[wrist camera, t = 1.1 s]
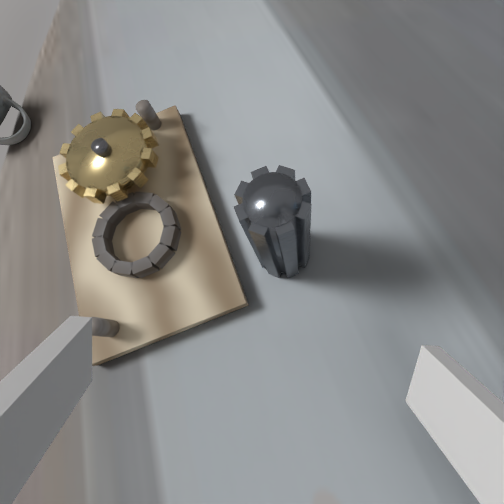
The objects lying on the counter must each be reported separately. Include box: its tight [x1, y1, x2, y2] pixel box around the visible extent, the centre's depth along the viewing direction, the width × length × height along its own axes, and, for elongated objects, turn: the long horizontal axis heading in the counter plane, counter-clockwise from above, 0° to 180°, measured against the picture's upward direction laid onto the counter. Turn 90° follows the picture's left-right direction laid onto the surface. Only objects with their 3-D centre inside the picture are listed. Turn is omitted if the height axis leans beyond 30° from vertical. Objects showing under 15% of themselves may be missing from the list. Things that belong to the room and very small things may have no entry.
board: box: [53, 100, 249, 366], centre depth 33 cm, size 16×25×4 cm, turn 21°
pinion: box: [234, 165, 311, 278], centre depth 26 cm, size 5×5×12 cm
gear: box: [58, 109, 159, 204], centre depth 34 cm, size 10×10×5 cm
